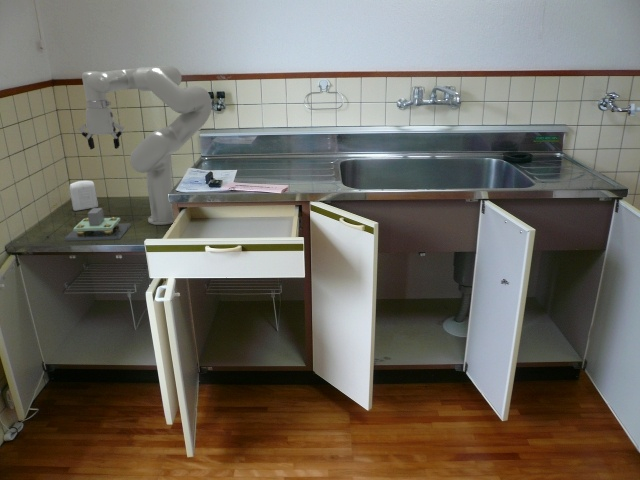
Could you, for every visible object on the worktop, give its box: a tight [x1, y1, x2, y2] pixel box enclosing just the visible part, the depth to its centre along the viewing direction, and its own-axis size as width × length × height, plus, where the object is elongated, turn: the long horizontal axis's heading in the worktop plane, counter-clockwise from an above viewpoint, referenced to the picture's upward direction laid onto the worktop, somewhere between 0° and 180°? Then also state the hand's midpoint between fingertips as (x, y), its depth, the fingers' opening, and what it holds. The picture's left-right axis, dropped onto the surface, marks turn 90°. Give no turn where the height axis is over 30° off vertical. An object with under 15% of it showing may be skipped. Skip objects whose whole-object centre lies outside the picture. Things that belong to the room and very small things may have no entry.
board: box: [72, 207, 121, 231], centre depth 201 cm, size 14×11×6 cm
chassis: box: [64, 216, 131, 242], centre depth 203 cm, size 20×14×5 cm
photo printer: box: [69, 180, 99, 212], centre depth 229 cm, size 10×4×12 cm, turn 123°
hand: (104, 148), depth 212 cm, fingers open, 9 cm apart
